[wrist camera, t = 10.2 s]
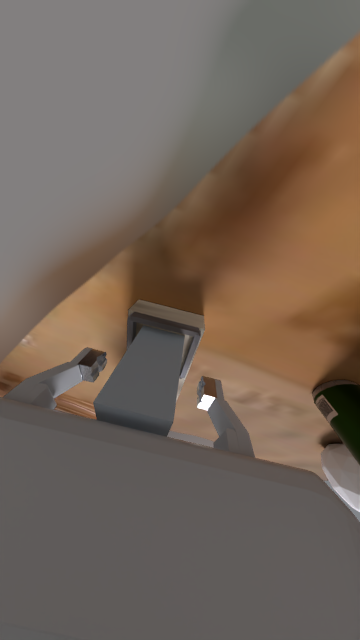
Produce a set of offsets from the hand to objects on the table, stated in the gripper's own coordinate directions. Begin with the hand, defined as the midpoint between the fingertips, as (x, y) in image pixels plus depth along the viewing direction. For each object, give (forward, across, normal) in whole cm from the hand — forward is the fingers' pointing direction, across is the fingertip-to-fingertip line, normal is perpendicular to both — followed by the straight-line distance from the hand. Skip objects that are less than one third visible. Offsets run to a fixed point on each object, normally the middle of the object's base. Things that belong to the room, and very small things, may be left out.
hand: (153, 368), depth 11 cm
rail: (+5, 0, -7) cm, 9 cm away
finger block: (+3, 0, 0) cm, 3 cm away
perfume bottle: (+6, +35, -14) cm, 38 cm away
